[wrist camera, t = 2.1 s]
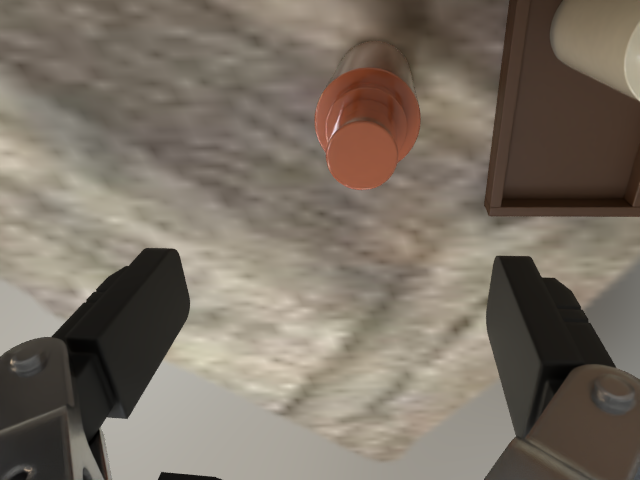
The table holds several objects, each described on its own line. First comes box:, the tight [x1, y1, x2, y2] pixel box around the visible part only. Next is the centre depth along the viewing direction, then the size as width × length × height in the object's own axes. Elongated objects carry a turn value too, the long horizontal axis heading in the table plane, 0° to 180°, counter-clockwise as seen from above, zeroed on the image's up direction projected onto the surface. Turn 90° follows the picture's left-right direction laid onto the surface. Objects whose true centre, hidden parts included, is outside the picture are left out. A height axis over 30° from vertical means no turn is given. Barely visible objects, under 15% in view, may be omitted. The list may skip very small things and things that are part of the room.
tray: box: [484, 0, 640, 217], centre depth 29 cm, size 26×11×2 cm, turn 4°
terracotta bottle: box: [315, 41, 421, 190], centre depth 26 cm, size 5×5×16 cm
